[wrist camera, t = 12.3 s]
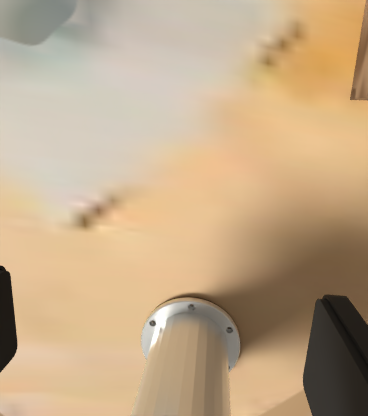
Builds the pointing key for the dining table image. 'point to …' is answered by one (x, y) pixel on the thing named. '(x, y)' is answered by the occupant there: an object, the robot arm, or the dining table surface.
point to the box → (361, 63)
